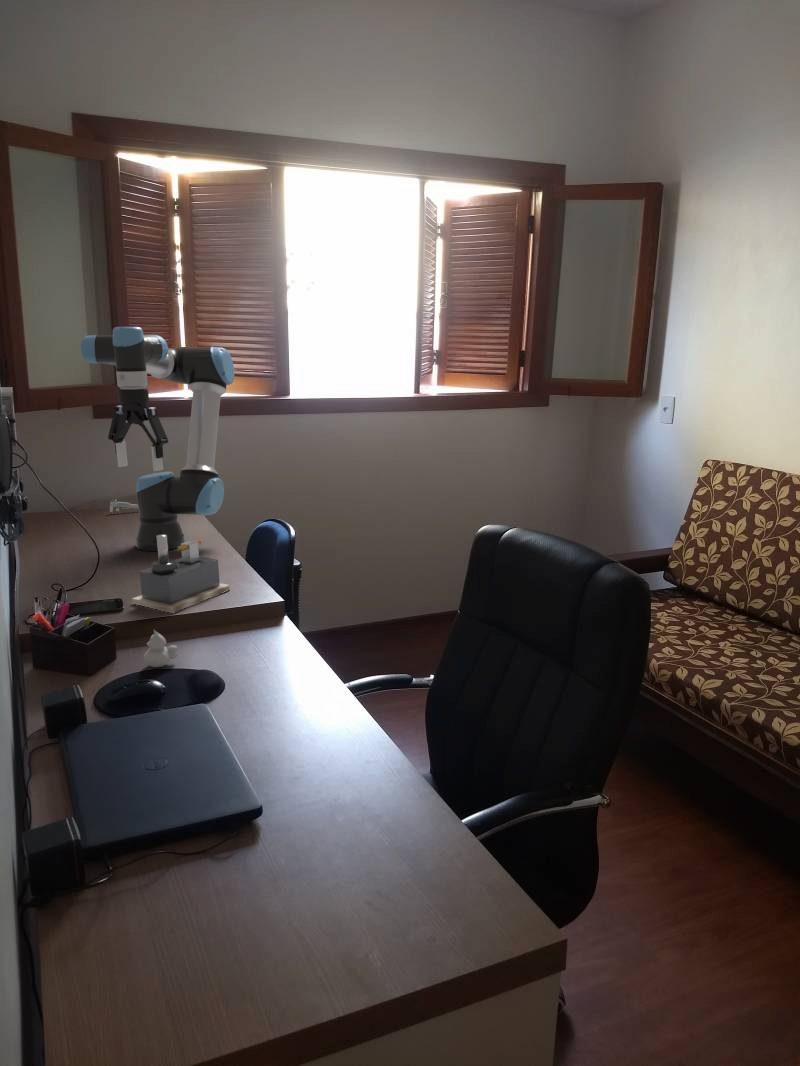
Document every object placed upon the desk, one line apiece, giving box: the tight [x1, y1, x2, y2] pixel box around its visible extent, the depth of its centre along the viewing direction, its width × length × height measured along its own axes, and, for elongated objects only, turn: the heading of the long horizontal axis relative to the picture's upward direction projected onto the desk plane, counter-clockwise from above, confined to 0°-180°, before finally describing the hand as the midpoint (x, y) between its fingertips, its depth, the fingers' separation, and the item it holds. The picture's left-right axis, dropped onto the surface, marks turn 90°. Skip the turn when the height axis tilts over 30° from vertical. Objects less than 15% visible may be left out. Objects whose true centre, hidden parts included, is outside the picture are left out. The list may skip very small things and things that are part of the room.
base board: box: [131, 582, 231, 614], centre depth 196 cm, size 20×14×2 cm
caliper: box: [109, 498, 138, 513], centre depth 293 cm, size 20×1×6 cm, turn 117°
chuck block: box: [139, 534, 221, 605], centre depth 194 cm, size 17×10×16 cm, turn 150°
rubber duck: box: [143, 629, 178, 668], centre depth 155 cm, size 5×7×8 cm
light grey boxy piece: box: [176, 539, 202, 566], centre depth 197 cm, size 7×3×10 cm, turn 150°
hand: (140, 468), depth 205 cm, fingers open, 13 cm apart
